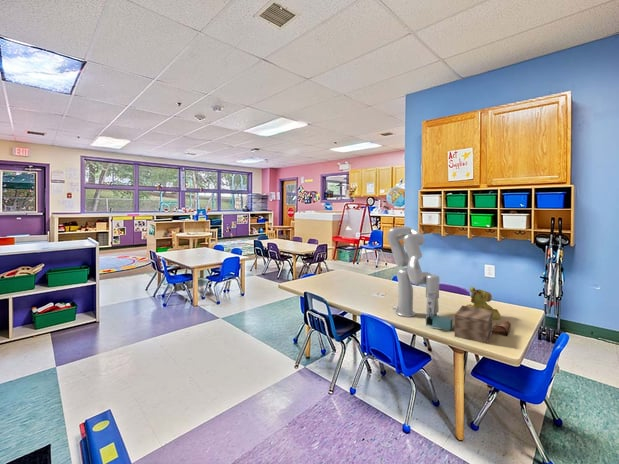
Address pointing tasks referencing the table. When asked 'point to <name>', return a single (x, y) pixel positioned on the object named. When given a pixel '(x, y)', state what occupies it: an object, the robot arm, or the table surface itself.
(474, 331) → the brown wooden block
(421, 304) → the table surface
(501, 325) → the sunglasses case
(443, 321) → the teal block
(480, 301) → the giraffe plush
